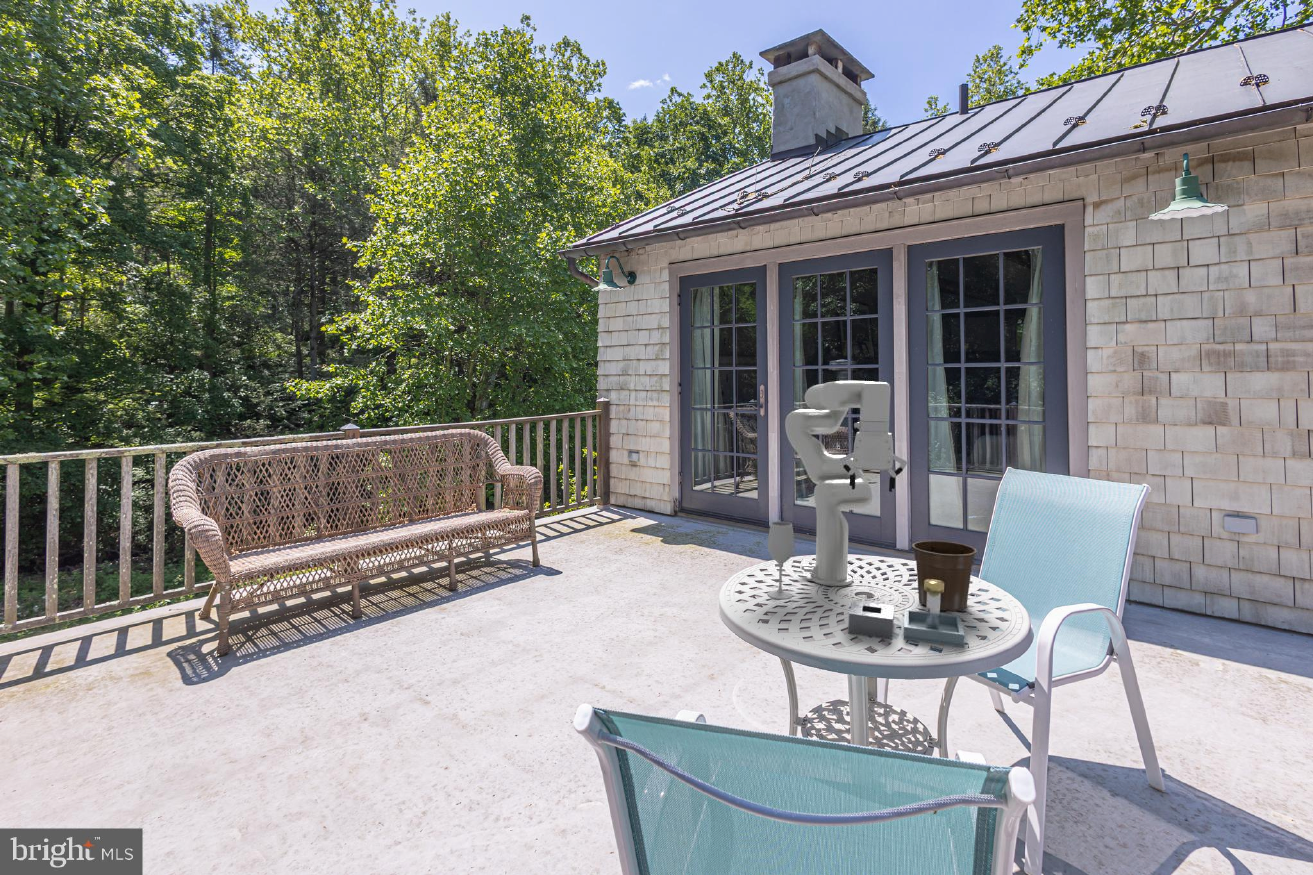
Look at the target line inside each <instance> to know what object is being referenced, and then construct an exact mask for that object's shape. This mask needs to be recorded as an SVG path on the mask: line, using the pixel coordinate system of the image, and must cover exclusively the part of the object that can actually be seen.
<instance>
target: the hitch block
mask: <svg viewBox="0 0 1313 875" xmlns="http://www.w3.org/2000/svg"><path fill="white" fill-rule="evenodd" d="M894 616H895V605H892V604H891V605H890V604H881V603H875V602H867V601H865V602H864V601H859V600H858V601H857V600H852V601H851V606H850V608H849V612H848V634H851V635H855V636H857V635H858V636H863V637H869V638H877V639H878V638H879V639H883V640H891V641H892V640H893V634H894V621H895V620H894Z"/></svg>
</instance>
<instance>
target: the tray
mask: <svg viewBox="0 0 1313 875" xmlns="http://www.w3.org/2000/svg"><path fill="white" fill-rule="evenodd" d="M903 616H904V617H903V618H904V619H903V640H907V641H915V642H920V643H921V642H922V643H929V644H935V645H936V644H937V645H943V646H949V647H957V648H965V632H964V627H963V622H962V616H961V615H953V614H946V613H940V620H939V630H935V629H927V628H926V611H922V610H915V609H907V608H904V615H903Z"/></svg>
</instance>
